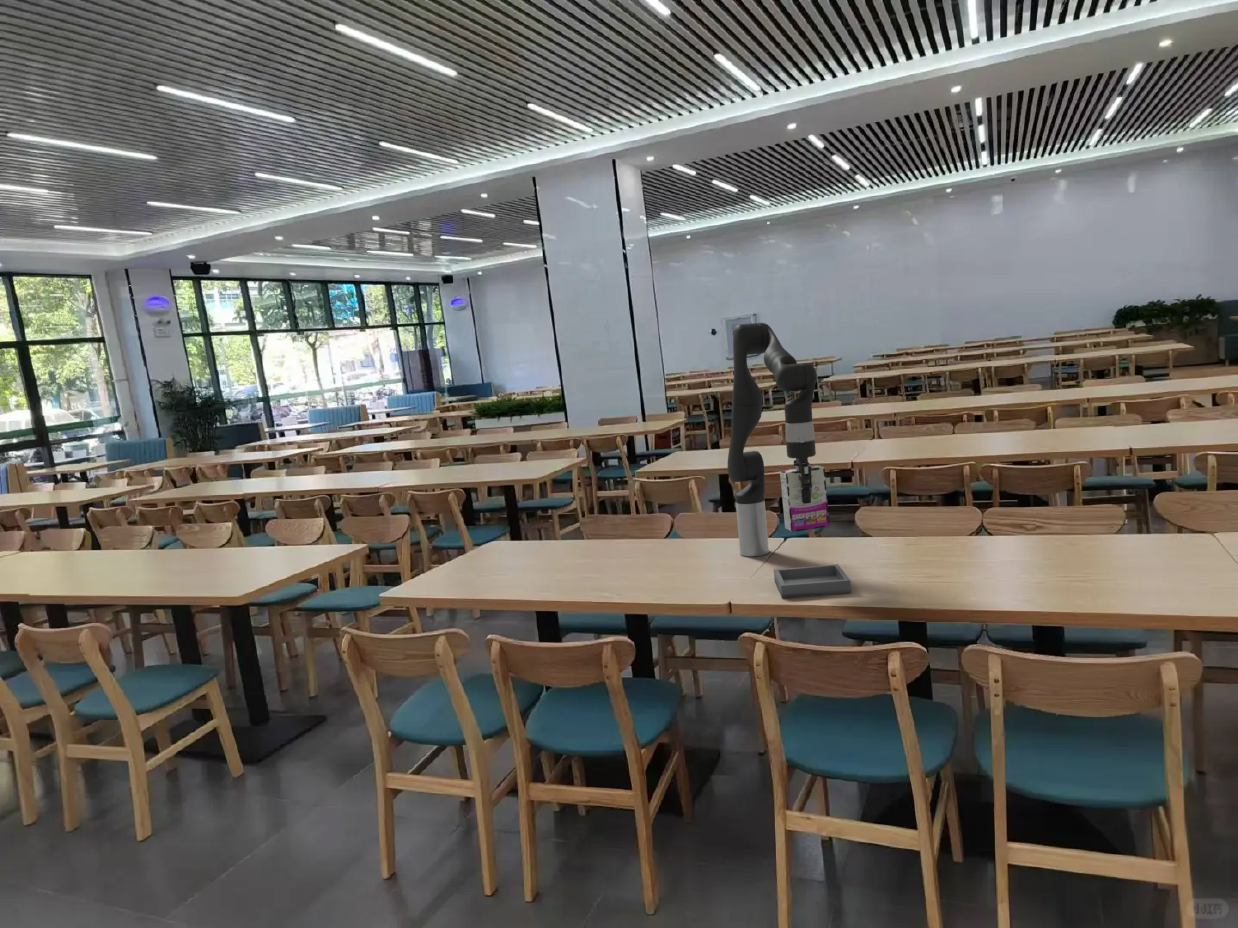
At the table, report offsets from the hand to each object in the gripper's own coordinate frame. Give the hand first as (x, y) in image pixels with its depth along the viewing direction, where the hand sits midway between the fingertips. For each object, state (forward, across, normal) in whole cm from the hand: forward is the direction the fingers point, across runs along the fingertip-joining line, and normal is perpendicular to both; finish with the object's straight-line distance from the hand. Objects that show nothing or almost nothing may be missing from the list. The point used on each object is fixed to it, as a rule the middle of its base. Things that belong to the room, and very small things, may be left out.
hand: (804, 500), depth 214 cm
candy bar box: (+8, 0, 0) cm, 8 cm away
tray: (+24, 0, 0) cm, 24 cm away
